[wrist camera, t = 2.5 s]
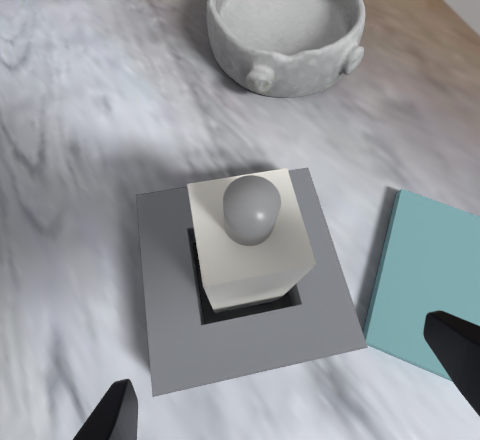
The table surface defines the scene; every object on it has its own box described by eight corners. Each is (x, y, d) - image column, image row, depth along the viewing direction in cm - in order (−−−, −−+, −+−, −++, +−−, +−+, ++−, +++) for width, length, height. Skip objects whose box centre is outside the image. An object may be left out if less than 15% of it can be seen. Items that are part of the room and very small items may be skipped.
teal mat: (550, 423, 19) (563, 426, 18) (360, 342, 20) (365, 341, 19) (552, 249, 23) (563, 246, 22) (396, 193, 24) (401, 188, 24)
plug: (278, 300, 21) (332, 249, 10) (214, 313, 21) (197, 275, 9) (263, 240, 23) (296, 139, 12) (204, 251, 22) (179, 156, 11)
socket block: (348, 347, 20) (367, 347, 17) (163, 389, 19) (152, 396, 16) (298, 187, 24) (308, 167, 22) (147, 213, 23) (135, 194, 20)
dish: (206, 6, 33) (202, -49, 28) (333, 5, 33) (350, -49, 29) (211, 113, 27) (207, 66, 23) (362, 109, 28) (389, 62, 23)
